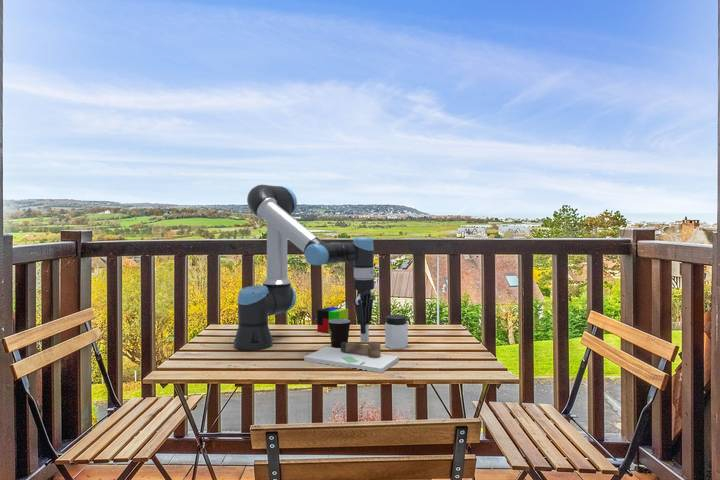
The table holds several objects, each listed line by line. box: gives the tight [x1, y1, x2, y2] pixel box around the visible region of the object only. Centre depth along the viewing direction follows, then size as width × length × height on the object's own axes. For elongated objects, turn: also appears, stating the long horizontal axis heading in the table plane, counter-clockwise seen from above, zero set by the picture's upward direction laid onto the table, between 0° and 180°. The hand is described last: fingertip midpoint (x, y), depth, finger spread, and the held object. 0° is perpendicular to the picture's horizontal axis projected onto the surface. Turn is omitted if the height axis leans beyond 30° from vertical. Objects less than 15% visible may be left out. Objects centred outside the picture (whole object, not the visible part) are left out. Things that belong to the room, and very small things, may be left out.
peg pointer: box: [340, 341, 381, 357], centre depth 164 cm, size 15×4×4 cm, turn 63°
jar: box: [384, 314, 409, 350], centre depth 180 cm, size 9×8×12 cm
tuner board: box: [303, 346, 400, 374], centre depth 161 cm, size 30×15×2 cm, turn 63°
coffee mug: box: [329, 319, 351, 349], centre depth 182 cm, size 12×9×10 cm
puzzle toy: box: [316, 306, 349, 335], centre depth 207 cm, size 10×10×10 cm
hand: (364, 341), depth 170 cm, fingers closed
